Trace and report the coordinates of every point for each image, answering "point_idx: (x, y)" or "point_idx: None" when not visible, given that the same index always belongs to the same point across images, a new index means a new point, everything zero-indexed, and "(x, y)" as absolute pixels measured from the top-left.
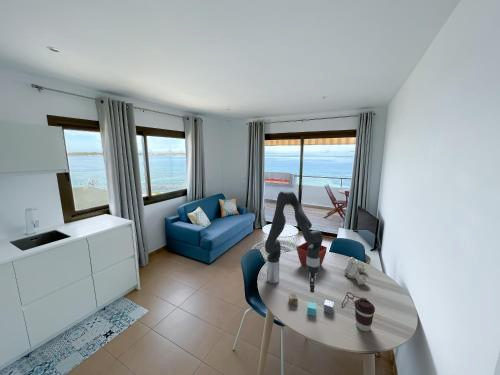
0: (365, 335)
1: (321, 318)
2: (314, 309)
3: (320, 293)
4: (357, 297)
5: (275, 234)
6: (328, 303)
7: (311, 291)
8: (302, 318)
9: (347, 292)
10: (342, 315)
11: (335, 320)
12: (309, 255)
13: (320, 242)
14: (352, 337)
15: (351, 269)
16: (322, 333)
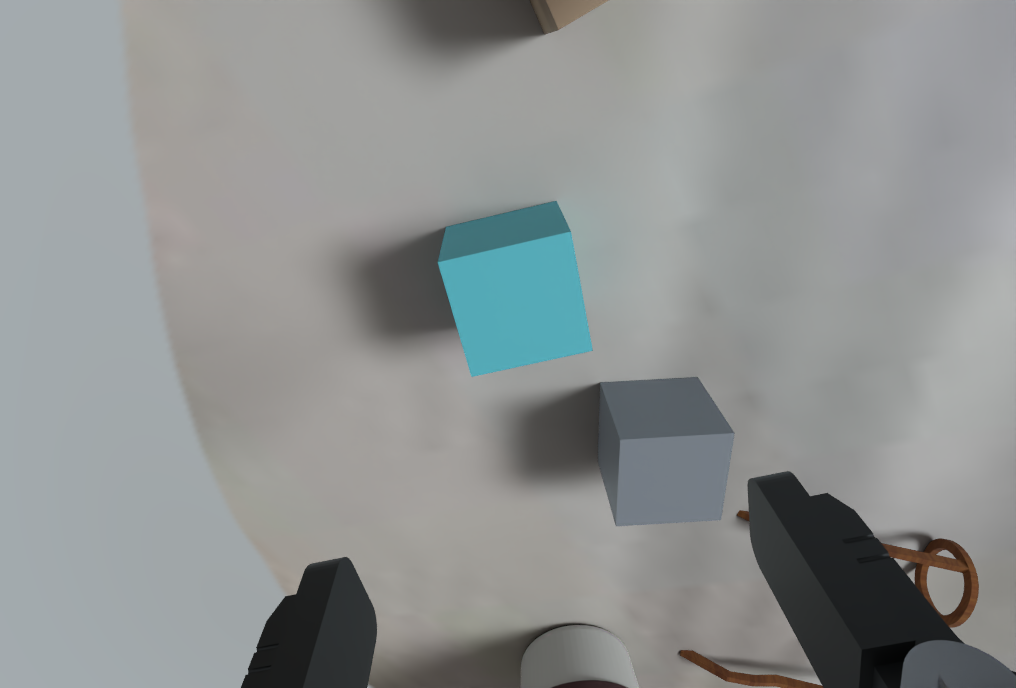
0: (487, 673)
1: (477, 384)
2: (466, 352)
3: (942, 271)
4: None
5: None
6: (665, 478)
7: (272, 635)
8: (339, 191)
9: (975, 582)
10: (628, 533)
11: (527, 496)
12: None
13: None
14: (410, 617)
15: None
16: (283, 435)
